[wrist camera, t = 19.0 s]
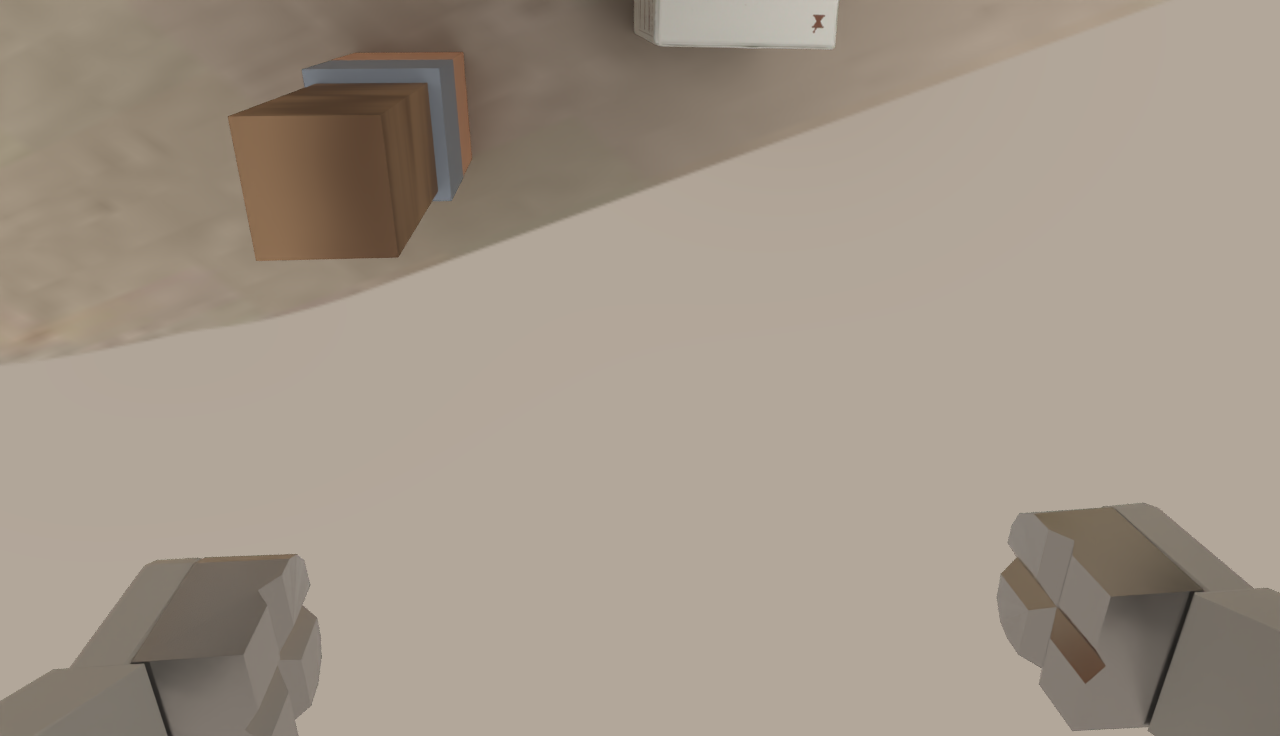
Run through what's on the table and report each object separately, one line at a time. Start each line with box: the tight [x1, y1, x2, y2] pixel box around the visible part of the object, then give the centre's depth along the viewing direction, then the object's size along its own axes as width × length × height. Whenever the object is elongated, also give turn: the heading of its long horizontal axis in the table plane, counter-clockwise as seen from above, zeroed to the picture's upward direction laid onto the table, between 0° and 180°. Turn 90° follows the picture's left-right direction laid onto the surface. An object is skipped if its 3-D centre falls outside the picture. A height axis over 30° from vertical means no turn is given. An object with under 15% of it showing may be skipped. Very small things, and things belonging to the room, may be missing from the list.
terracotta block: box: [332, 52, 472, 176], centre depth 42 cm, size 6×6×5 cm
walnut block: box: [228, 83, 438, 261], centre depth 31 cm, size 4×4×10 cm
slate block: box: [302, 60, 463, 201], centre depth 37 cm, size 6×6×5 cm
